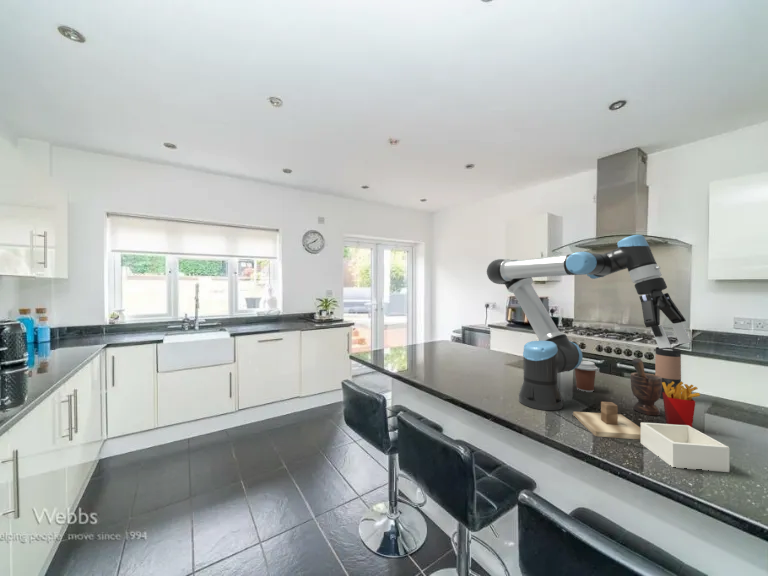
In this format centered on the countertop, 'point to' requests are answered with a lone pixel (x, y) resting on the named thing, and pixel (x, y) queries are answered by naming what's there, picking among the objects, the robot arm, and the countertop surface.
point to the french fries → (679, 404)
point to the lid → (609, 423)
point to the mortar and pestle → (645, 389)
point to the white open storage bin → (685, 447)
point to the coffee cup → (585, 376)
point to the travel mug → (668, 366)
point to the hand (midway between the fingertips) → (675, 345)
